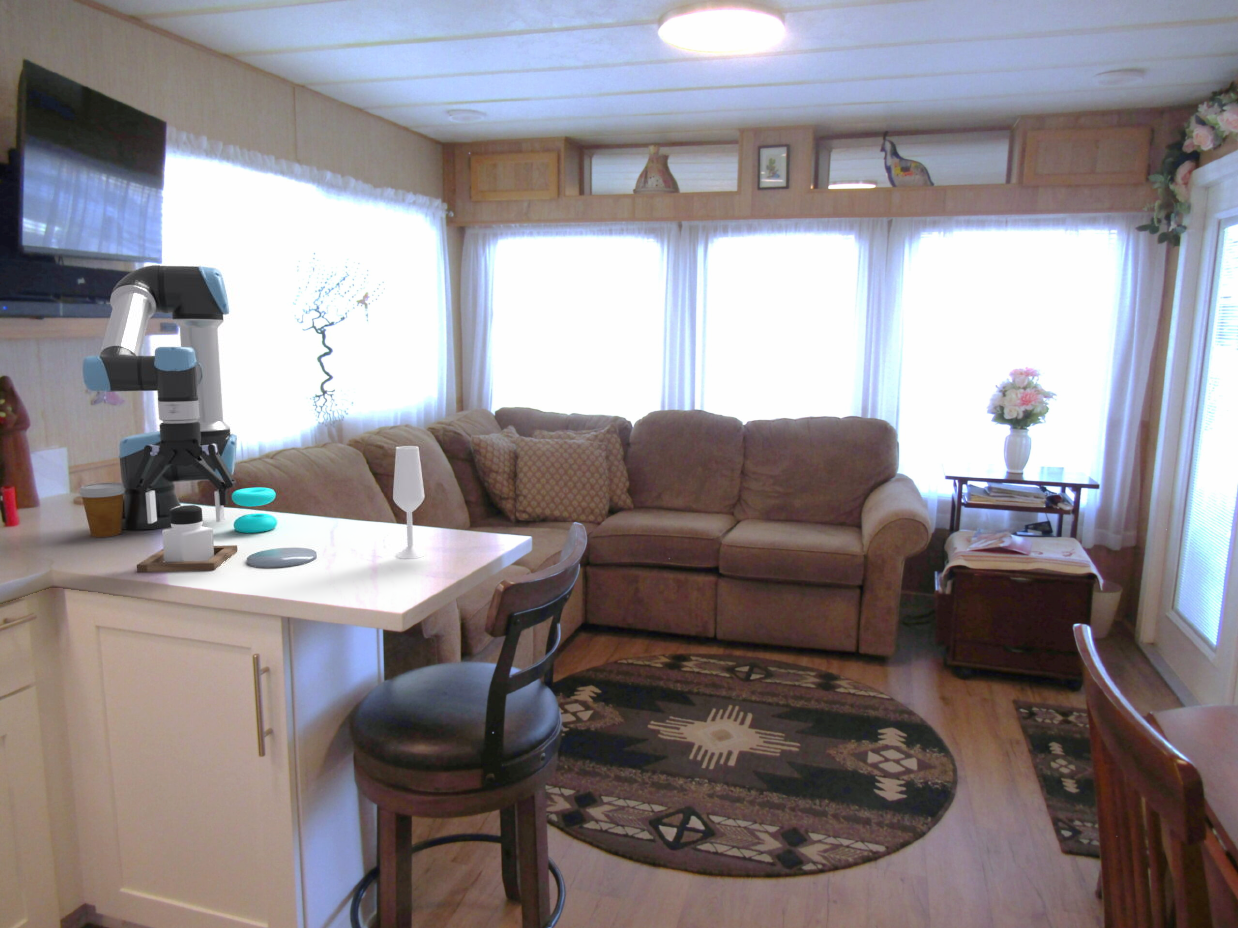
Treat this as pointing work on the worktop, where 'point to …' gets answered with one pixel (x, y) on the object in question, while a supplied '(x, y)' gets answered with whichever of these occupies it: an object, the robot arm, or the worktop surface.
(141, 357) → the robot arm
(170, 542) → the medicine bottle
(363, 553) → the worktop surface
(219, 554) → the wooden picture frame
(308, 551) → the slate plate
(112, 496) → the disposable coffee cup
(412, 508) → the champagne flute
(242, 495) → the donuts
